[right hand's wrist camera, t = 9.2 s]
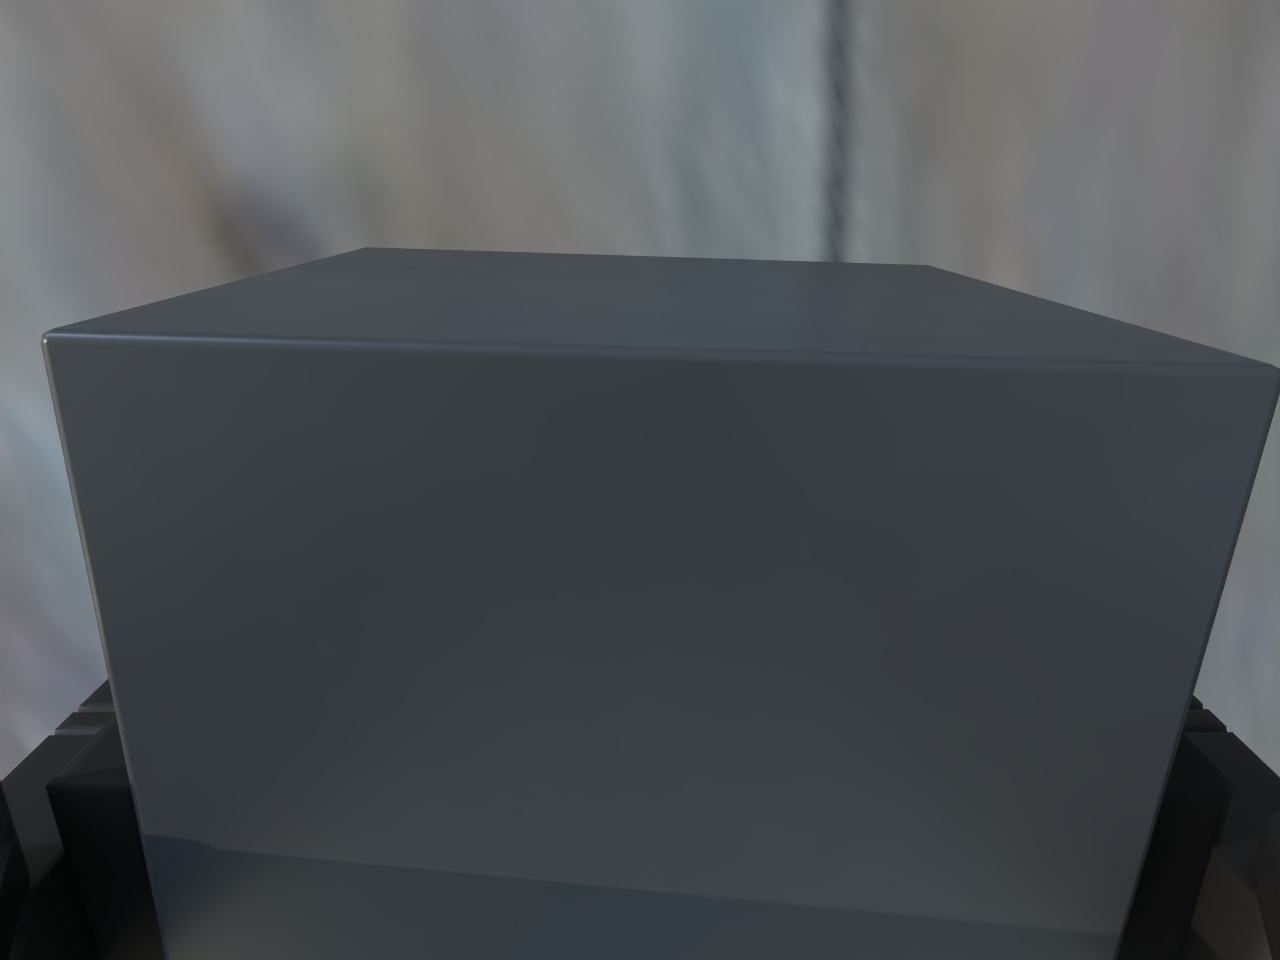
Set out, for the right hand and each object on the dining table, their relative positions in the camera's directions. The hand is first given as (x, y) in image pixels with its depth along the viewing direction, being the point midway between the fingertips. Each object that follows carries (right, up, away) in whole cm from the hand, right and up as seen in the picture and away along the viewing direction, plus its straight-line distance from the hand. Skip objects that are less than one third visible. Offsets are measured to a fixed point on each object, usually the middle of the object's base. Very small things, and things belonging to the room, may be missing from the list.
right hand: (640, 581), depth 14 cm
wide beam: (-1, -21, +8) cm, 23 cm away
